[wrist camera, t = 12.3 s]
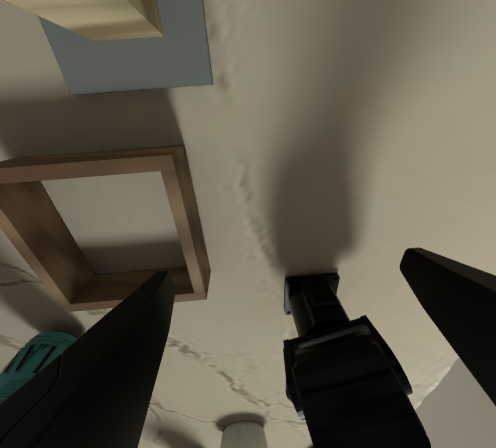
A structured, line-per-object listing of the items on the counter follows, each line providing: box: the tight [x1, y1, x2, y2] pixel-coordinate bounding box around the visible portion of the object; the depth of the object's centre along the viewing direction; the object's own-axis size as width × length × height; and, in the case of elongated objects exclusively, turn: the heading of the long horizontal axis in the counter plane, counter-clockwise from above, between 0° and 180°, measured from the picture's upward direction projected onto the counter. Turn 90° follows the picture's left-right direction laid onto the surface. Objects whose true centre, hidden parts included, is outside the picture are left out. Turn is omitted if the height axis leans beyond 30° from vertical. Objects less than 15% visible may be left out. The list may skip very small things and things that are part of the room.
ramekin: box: [220, 422, 268, 448], centre depth 46 cm, size 11×11×5 cm
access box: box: [0, 145, 211, 312], centre depth 19 cm, size 14×14×4 cm
